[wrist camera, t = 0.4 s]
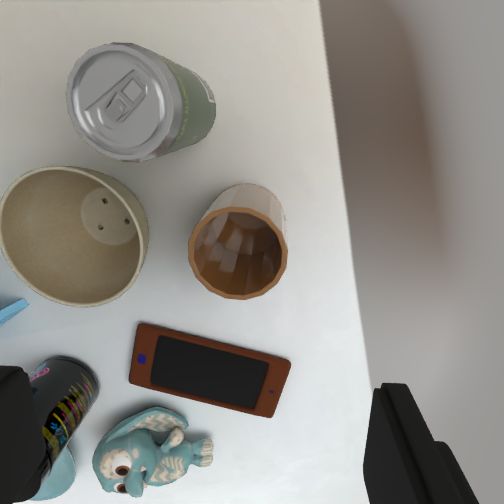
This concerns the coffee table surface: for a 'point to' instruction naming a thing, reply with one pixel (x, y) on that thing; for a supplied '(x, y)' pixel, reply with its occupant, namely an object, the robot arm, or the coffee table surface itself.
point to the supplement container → (58, 411)
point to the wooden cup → (240, 243)
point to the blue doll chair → (12, 310)
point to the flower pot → (73, 234)
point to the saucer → (58, 478)
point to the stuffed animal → (147, 453)
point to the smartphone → (207, 371)
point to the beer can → (137, 103)
